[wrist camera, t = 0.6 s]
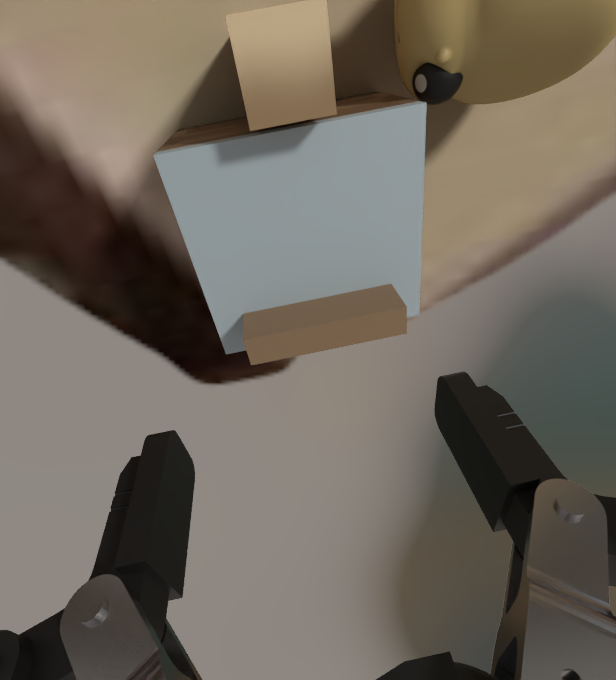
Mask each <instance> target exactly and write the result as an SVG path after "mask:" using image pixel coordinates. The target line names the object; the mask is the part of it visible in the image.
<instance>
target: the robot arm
mask: <svg viewBox="0 0 616 680" xmlns="http://www.w3.org/2000/svg"><path fill="white" fill-rule="evenodd" d="M435 418H436V421H437V424H438V427H439V429H440V431H441V433H442V435H443V437H444V439H445V441H446V443H447V445H448V447H449V448H450V450H451V452H452V454H453V456H454V458H455V460H456V462H457V464H458V466H459V467H460V469H461V471H462V473H463V475H464V477H465V479H466V481H467V483H468V485H469V487H470V489H471V490H472V492H473V494H474V496H475V498H476V500H477V502H478V504H479V506H480V508H481V510H482V511H483V513H484V515H485V517H486V519H487V521H488V523H489V525H490V527H491V528H492V530H493V532H495V531H500V530H505V529H507V531H508V533H509V534H510V536H511V538H512V540H513V543H512V548H511V555H510V562H509V570H508V576H507V583H506V590H505V597H504V605H503V612H502V617H501V621H500V625H499V628H498V632H497V636H496V641H495V646H494V652H493V659H492V666H491V673H490V674H488V673H487V672H485V671H483V670H480V669H478V668H476V667H473V666H470V665H467V664H463V663H458V662H453V660H452V657H451V654H450V652H446V653H441V654H436V655H432V656H427V657H423V658H419V659H414V660H410V661H405V662H403V663H401V664H400V665H398V666H397V667H395V668H394V669H392V670H390V671H389V672H387V673H386V674H384V675H382V676H381V677H379V678H378V679H376V680H616V617H615V616H613V614H612V613H611V610H610V605H609V586H616V498H613V497H604V496H599V495H595V494H592V493H591V492H590V491H589V490H588V489H585V488H584V487H583V486H581V485H579V484H577V483H575V482H572V481H569V480H567V479H566V478H565V477H564V476H563V475H562V474H561V472H560V471H559V470H558V469H557V467H556V466H555V465H554V463H553V462H552V461H551V459H550V458H549V457H548V455H547V454H546V453H545V452H544V450H543V449H542V448H541V446H540V445H539V444H538V443H537V441H536V440H535V439H534V437H533V436H532V435H531V433H530V432H529V431H528V429H527V428H526V426H523V423H522V421H521V420H520V418H519V417H518V416H517V414H515V413H514V411H513V409H512V408H511V407H510V405H509V404H508V403H507V401H506V400H505V399H504V397H503V396H501V395H500V394H499V393H497V392H496V391H494V390H493V389H491V388H490V387H488V386H487V385H486V386H481V387H477V386H476V385H475V383H474V382H473V380H472V379H471V378H470V376H469V375H468V374H467V373H466V372H460V373H455V374H450V375H445V376H440V377H439V378H438V381H437V391H436V400H435ZM194 482H195V470H194V464H193V461H192V458H191V457H190V455H189V453H188V451H187V450H186V448H185V446H184V444H183V443H182V441H181V439H180V437H179V436H178V434H177V433H176V431H174V430H172V431H167V432H162V433H157V434H153V435H148V436H147V437H146V439H145V441H144V445H143V449H142V453H141V456H136V457H132V458H131V459H130V461H129V462H128V464H127V465H126V467H125V468H124V470H123V471H122V473H121V474H120V476H119V480H118V484H117V487H116V491H115V497H114V498H113V501H112V505H111V512H109V515H108V519H107V523H106V526H105V530H104V533H103V537H102V540H101V544H100V548H99V551H98V555H97V558H96V562H95V565H94V569H93V572H92V574H91V576H90V579H89V581H88V582H87V583H85V584H84V585H82V586H81V588H79V589H78V590H77V592H76V593H75V594H74V595H73V596H72V598H71V599H70V601H69V602H68V604H67V606H66V607H65V608H64V609H63V610H61V611H60V612H58V613H57V614H55V615H53V616H51V617H50V618H48V619H46V620H44V621H43V622H41V623H39V624H37V625H35V626H34V627H32V628H30V629H28V630H27V631H25V632H23V633H21V634H20V635H18V634H16V633H13V632H11V631H8V630H0V680H202V678H201V677H200V675H199V673H198V671H197V670H196V668H195V666H194V664H193V663H192V661H191V659H190V658H189V656H188V654H187V653H186V651H185V649H184V647H183V646H182V644H181V642H180V641H179V639H178V637H177V635H176V634H175V632H174V630H173V629H172V627H171V625H170V624H169V622H168V620H167V619H166V613H167V606H168V601H169V600H174V599H178V598H182V596H183V587H184V577H185V567H186V558H187V549H188V539H189V530H190V520H191V511H192V501H193V490H194Z"/></svg>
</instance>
